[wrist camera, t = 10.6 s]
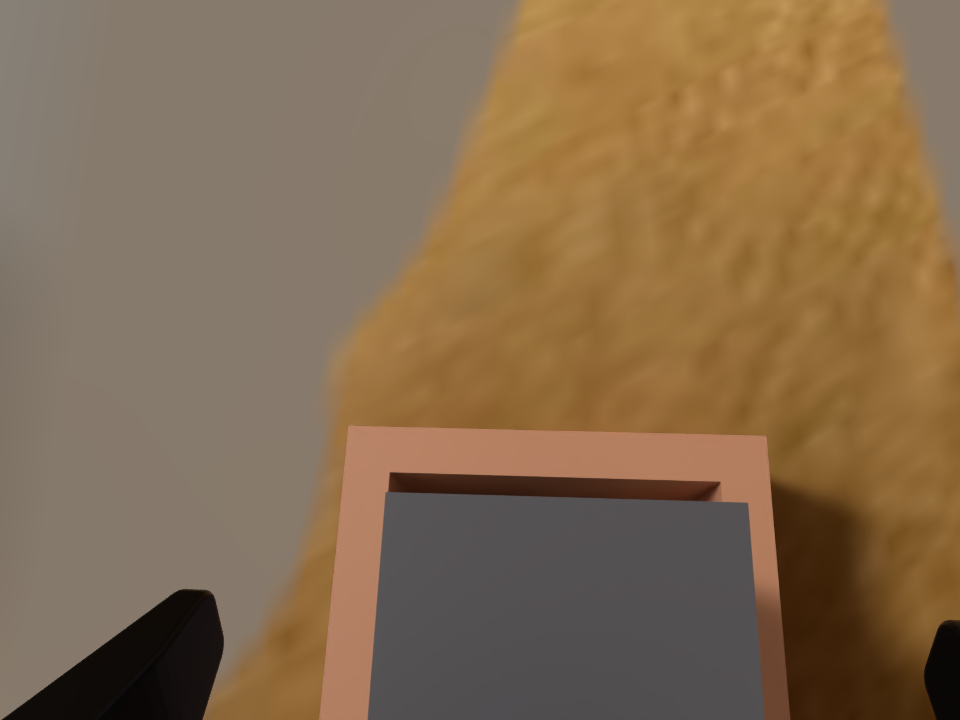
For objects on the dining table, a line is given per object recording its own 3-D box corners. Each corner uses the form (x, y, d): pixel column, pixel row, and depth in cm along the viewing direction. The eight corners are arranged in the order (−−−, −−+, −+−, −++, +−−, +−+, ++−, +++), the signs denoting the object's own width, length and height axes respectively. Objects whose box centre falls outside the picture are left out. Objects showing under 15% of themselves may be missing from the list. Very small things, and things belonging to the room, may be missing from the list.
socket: (753, 877, 16) (809, 944, 13) (345, 849, 17) (300, 907, 14) (725, 466, 19) (766, 435, 16) (379, 457, 20) (348, 426, 16)
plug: (631, 744, 17) (781, 941, 7) (458, 735, 18) (351, 911, 7) (626, 565, 19) (748, 503, 8) (466, 559, 19) (385, 491, 8)
